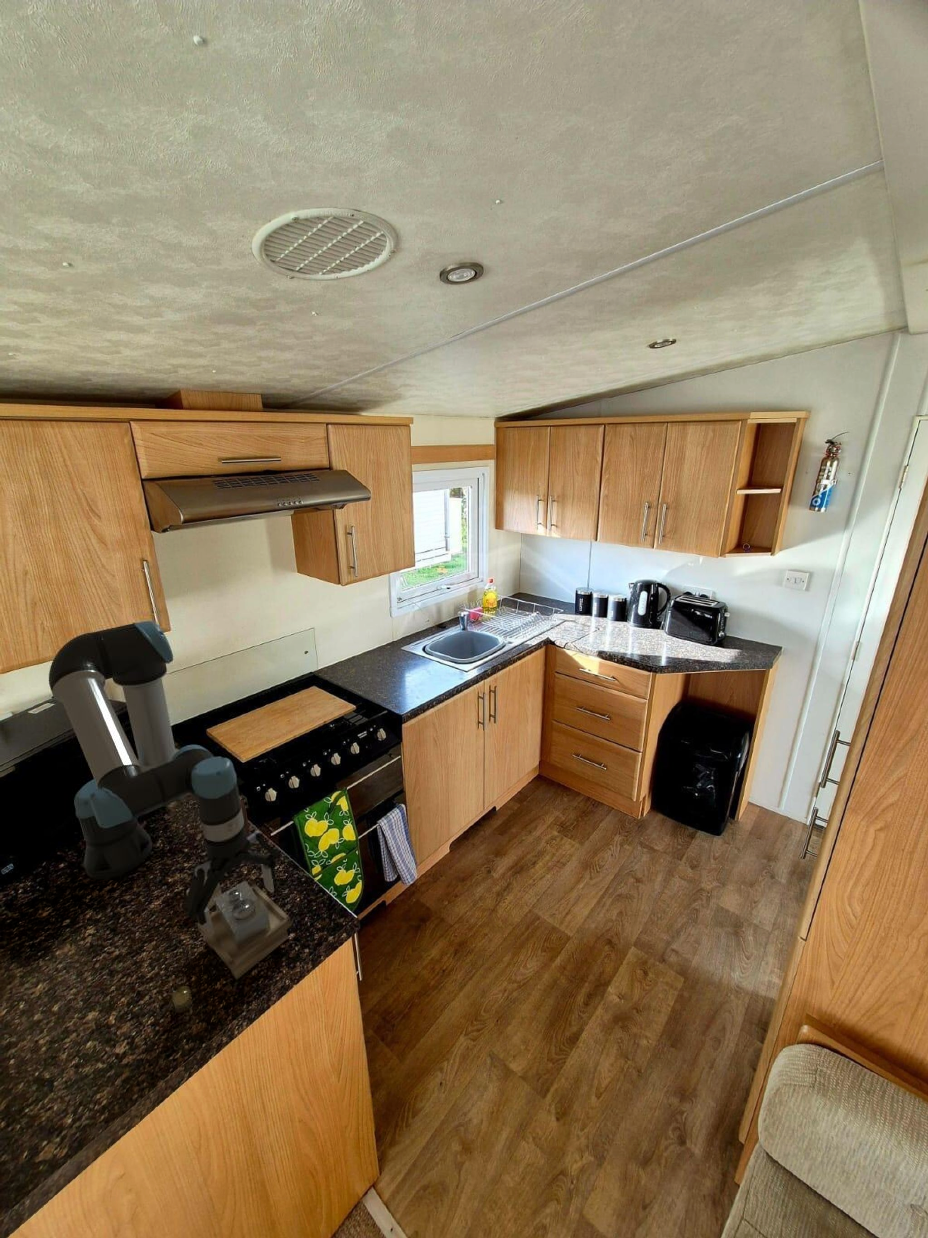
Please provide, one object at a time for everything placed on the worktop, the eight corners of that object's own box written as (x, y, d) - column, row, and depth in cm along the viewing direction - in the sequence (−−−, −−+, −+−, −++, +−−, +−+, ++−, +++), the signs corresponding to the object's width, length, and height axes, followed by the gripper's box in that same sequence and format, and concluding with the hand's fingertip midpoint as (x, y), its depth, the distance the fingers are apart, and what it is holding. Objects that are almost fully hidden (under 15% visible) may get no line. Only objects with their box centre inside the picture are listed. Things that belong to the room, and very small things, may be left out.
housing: (217, 916, 113) (213, 895, 111) (249, 897, 117) (245, 877, 115) (238, 951, 104) (233, 930, 102) (271, 930, 109) (267, 909, 107)
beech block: (189, 907, 121) (185, 891, 119) (206, 891, 125) (202, 875, 124) (206, 913, 119) (202, 896, 118) (222, 896, 124) (218, 880, 122)
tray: (201, 943, 112) (197, 923, 110) (258, 903, 122) (254, 884, 120) (235, 985, 103) (230, 965, 101) (293, 938, 112) (290, 918, 111)
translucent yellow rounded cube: (172, 1006, 99) (169, 995, 98) (188, 993, 101) (185, 983, 100) (179, 1016, 97) (176, 1005, 96) (195, 1003, 100) (192, 992, 99)
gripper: (167, 878, 91) (189, 963, 98) (289, 805, 109) (300, 881, 116) (150, 858, 96) (173, 940, 103) (270, 791, 114) (282, 865, 121)
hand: (241, 909), depth 109 cm, fingers open, 13 cm apart
